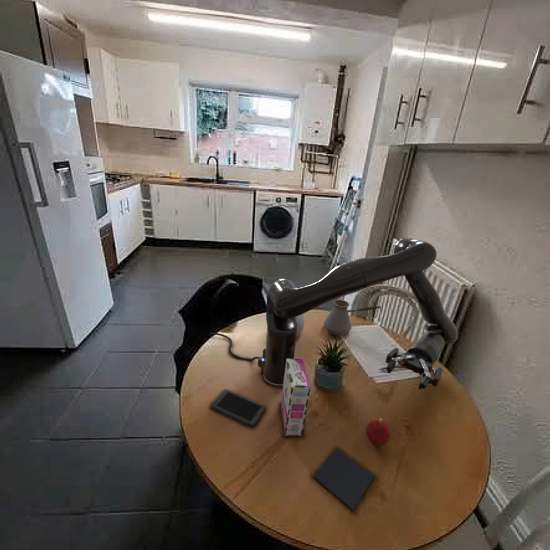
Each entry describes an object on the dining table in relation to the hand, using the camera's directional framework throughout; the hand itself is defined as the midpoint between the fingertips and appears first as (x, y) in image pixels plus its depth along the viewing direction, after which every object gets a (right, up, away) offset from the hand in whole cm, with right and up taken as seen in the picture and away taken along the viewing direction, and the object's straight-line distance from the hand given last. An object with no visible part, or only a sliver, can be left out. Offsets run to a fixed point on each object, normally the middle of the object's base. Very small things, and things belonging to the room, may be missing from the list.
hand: (404, 378), depth 83 cm
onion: (-9, -16, -2) cm, 18 cm away
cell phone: (-45, -10, +5) cm, 46 cm away
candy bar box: (-30, -12, +3) cm, 33 cm away
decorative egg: (-30, +4, +42) cm, 51 cm away
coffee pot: (-4, +3, +46) cm, 46 cm away
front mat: (-19, -19, -12) cm, 29 cm away
